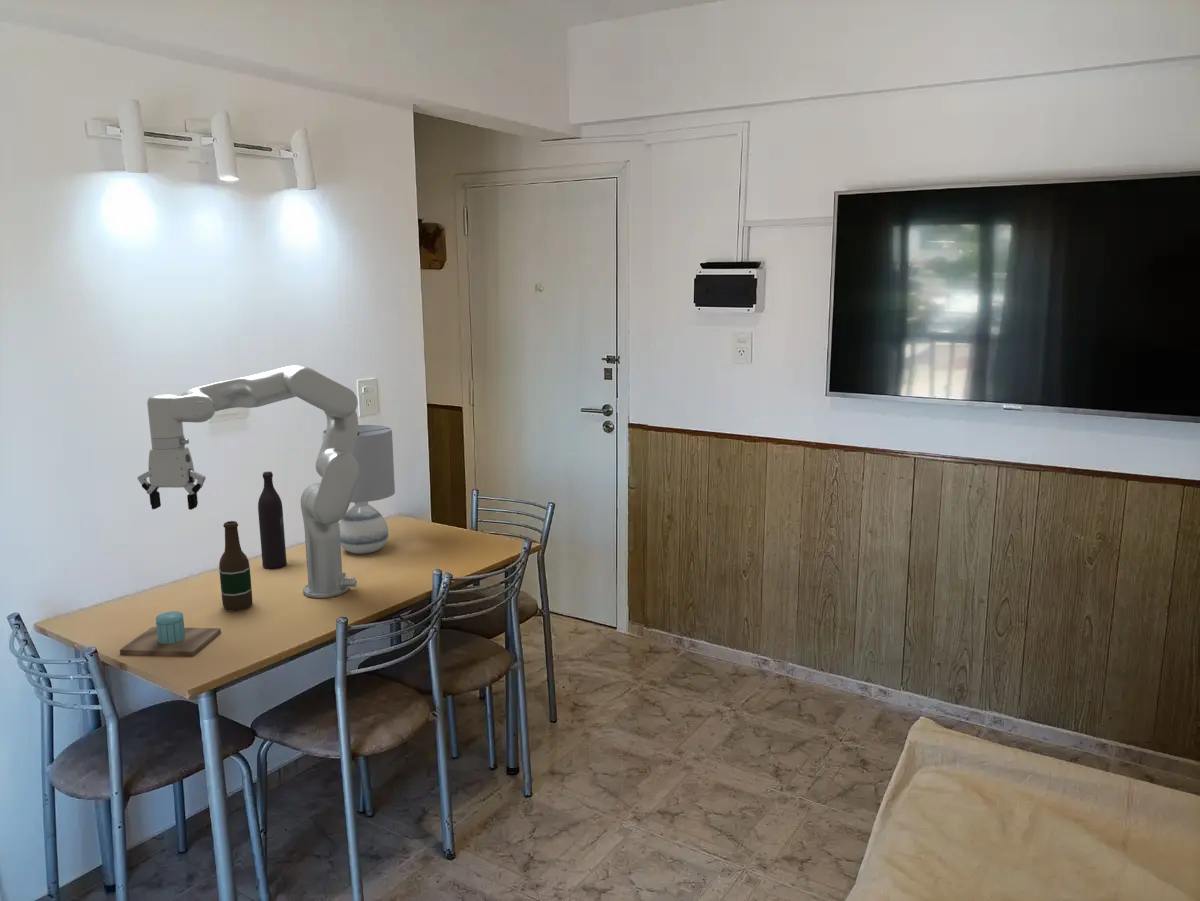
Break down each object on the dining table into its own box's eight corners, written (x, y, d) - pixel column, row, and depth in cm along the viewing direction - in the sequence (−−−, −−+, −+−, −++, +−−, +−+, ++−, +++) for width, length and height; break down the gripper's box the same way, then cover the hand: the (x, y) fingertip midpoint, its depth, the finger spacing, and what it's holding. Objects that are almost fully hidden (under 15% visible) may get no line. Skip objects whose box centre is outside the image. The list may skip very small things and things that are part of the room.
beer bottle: (234, 613, 235) (226, 527, 231) (216, 608, 239) (208, 523, 235) (259, 604, 242) (252, 520, 237) (241, 599, 246) (234, 516, 241)
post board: (221, 632, 223) (219, 611, 222) (193, 656, 209) (191, 633, 208) (152, 631, 224) (149, 609, 223) (120, 654, 210) (117, 631, 209)
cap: (166, 633, 219) (164, 611, 218) (189, 634, 219) (187, 611, 218) (153, 643, 213) (150, 620, 212) (177, 644, 213) (174, 620, 212)
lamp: (315, 553, 286) (307, 432, 278) (365, 536, 304) (359, 422, 296) (362, 564, 275) (355, 438, 267) (411, 546, 293) (405, 428, 285)
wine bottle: (287, 567, 272) (280, 473, 266) (262, 570, 270) (255, 475, 264) (286, 561, 279) (279, 469, 273) (262, 563, 276) (255, 471, 270)
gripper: (208, 440, 226) (214, 504, 230) (143, 440, 227) (150, 504, 230) (193, 446, 219) (200, 512, 222) (126, 445, 220) (133, 511, 223)
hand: (174, 508), depth 226 cm, fingers open, 9 cm apart
